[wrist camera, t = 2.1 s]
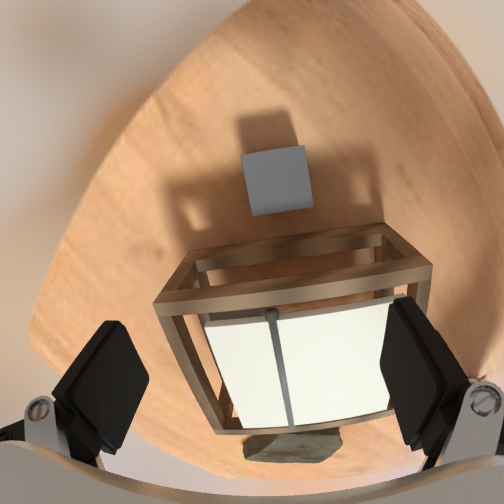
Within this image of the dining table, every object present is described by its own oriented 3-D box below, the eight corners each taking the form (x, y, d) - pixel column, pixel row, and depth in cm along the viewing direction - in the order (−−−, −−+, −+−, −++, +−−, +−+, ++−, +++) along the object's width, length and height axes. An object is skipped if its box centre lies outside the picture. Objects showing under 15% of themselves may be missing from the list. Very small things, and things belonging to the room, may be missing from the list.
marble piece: (242, 445, 45) (240, 462, 41) (257, 407, 40) (255, 428, 36) (322, 452, 45) (323, 468, 41) (352, 415, 40) (355, 434, 36)
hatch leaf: (386, 264, 22) (408, 293, 17) (375, 380, 27) (385, 412, 23) (214, 289, 24) (202, 323, 20) (248, 397, 29) (244, 431, 25)
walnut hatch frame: (384, 222, 27) (432, 264, 17) (378, 353, 33) (400, 412, 24) (189, 251, 30) (152, 303, 20) (228, 372, 36) (216, 434, 26)
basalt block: (298, 145, 25) (304, 145, 20) (306, 195, 27) (313, 207, 22) (246, 153, 25) (240, 155, 21) (256, 203, 27) (252, 216, 23)
